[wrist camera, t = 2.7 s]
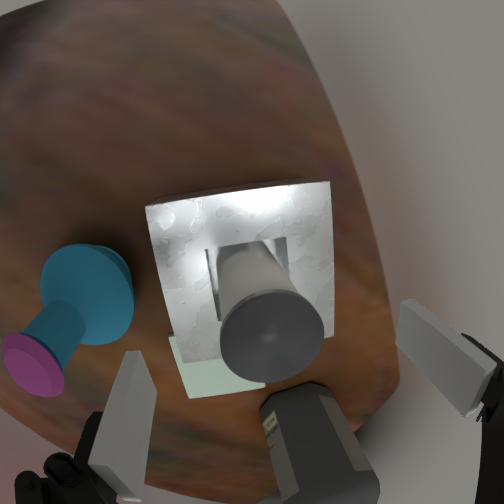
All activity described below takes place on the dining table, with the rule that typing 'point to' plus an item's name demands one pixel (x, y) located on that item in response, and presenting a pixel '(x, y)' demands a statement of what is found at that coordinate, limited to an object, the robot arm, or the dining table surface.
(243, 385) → the mat
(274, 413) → the liquor
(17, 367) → the perfume bottle
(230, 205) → the housing
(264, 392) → the dining table surface
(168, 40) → the dining table surface
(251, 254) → the salt shaker
